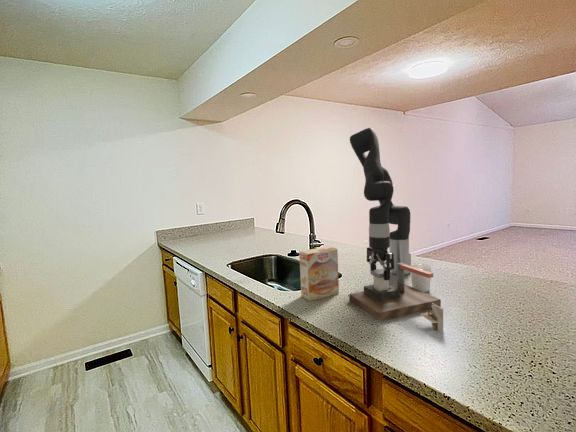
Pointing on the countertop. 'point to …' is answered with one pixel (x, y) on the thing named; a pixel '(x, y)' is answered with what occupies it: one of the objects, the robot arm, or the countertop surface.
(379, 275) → the plug
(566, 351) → the countertop surface
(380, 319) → the socket board
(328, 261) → the coffeecake box
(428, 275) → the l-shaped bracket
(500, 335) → the countertop surface
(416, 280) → the white cup
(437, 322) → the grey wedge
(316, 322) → the countertop surface
